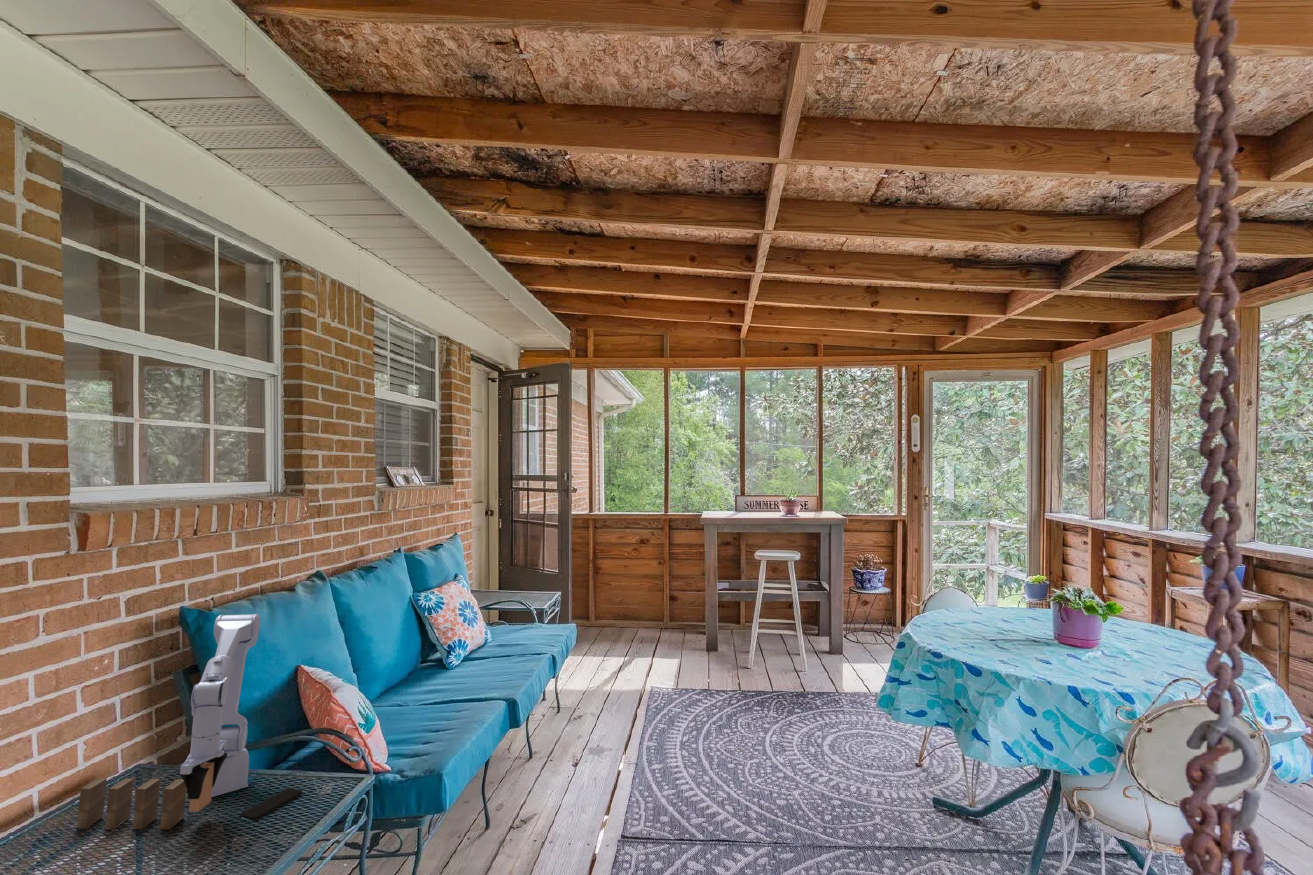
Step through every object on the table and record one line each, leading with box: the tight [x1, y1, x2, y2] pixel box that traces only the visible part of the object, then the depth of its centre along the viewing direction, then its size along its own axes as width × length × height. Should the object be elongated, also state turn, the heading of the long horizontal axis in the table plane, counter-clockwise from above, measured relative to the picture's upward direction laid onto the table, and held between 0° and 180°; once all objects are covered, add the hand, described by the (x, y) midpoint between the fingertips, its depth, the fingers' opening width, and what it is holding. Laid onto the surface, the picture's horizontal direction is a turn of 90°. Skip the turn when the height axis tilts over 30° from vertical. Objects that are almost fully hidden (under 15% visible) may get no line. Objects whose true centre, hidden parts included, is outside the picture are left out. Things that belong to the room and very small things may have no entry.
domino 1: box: [76, 778, 108, 829], centre depth 151 cm, size 2×5×9 cm, turn 4°
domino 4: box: [159, 778, 187, 830], centre depth 153 cm, size 2×5×9 cm, turn 4°
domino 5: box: [188, 762, 214, 813], centre depth 153 cm, size 2×5×9 cm, turn 4°
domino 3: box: [132, 778, 161, 830], centre depth 152 cm, size 2×5×9 cm, turn 4°
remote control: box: [240, 787, 303, 821], centre depth 162 cm, size 5×2×15 cm
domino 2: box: [104, 778, 135, 830], centre depth 152 cm, size 2×5×9 cm, turn 4°
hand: (201, 792), depth 153 cm, fingers closed on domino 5, 5 cm apart
